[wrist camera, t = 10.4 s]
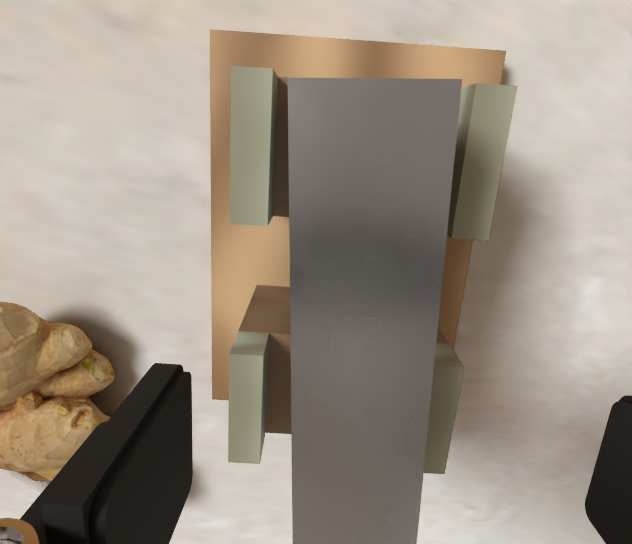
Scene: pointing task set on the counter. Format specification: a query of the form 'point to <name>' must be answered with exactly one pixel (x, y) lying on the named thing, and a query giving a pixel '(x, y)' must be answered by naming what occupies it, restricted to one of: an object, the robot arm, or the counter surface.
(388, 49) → the post rig
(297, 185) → the bracket bar
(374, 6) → the counter surface
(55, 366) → the ginger root
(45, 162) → the counter surface
